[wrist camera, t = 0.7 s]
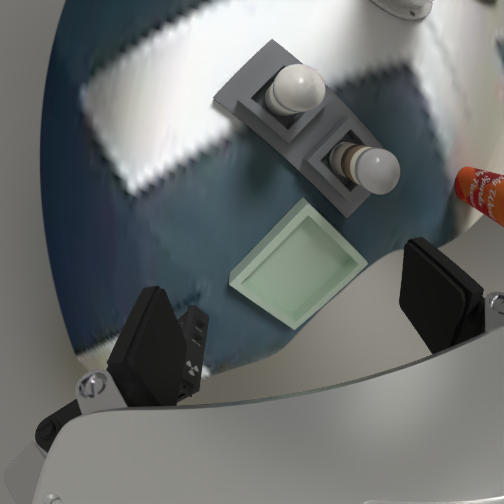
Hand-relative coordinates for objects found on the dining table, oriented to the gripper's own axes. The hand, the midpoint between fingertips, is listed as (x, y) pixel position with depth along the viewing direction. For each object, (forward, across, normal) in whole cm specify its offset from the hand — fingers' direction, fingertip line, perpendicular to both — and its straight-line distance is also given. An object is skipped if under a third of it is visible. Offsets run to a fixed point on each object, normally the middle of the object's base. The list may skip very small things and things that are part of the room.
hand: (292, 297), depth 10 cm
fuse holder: (+25, -8, -5) cm, 27 cm away
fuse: (+24, -4, -9) cm, 26 cm away
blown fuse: (+24, -10, -1) cm, 26 cm away
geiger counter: (+25, +16, +20) cm, 35 cm away
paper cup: (+25, -33, +5) cm, 42 cm away
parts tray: (+25, -3, +13) cm, 28 cm away
